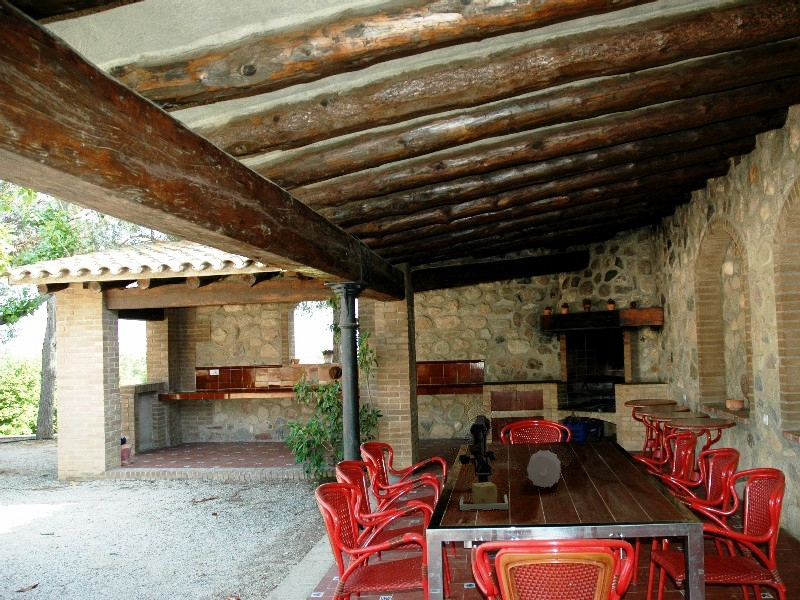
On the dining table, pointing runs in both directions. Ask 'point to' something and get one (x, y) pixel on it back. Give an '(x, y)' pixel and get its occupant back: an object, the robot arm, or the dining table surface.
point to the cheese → (484, 493)
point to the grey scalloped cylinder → (544, 468)
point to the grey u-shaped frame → (484, 505)
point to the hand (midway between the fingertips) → (477, 472)
